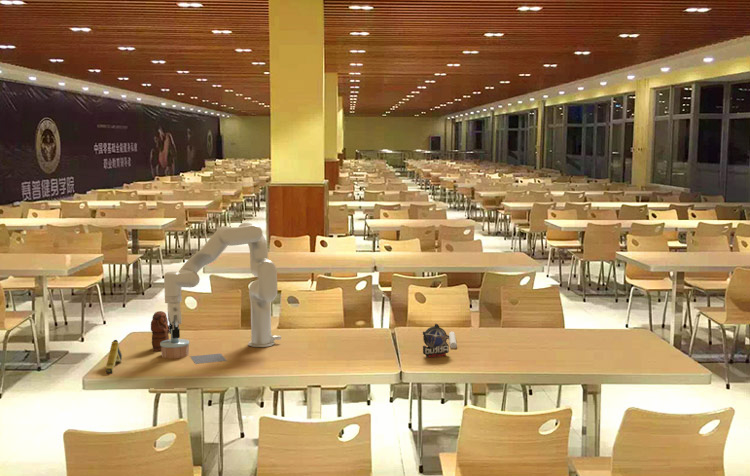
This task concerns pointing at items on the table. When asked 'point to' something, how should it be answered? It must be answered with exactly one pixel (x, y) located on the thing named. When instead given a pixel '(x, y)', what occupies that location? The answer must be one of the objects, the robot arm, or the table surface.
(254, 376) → the table surface
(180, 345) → the lid
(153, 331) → the wooden figurine
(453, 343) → the tube
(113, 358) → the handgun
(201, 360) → the mat
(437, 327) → the decorative emblem
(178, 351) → the bowl
